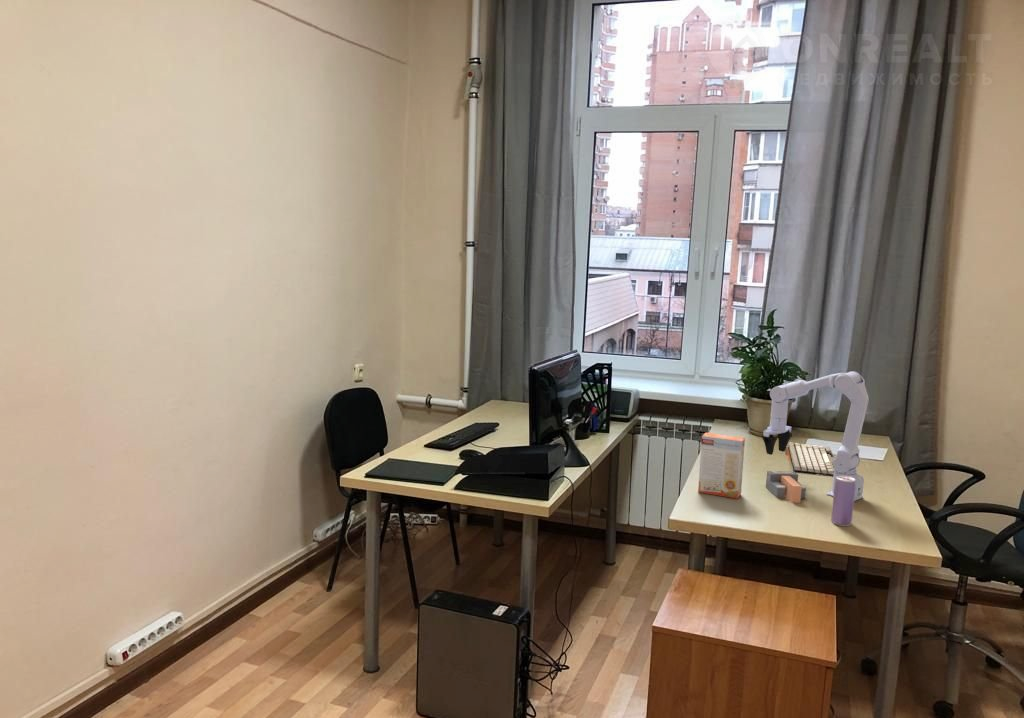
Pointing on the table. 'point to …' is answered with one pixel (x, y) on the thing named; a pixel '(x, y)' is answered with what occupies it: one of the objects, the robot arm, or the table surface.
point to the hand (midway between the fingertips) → (775, 452)
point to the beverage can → (843, 500)
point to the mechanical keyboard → (809, 459)
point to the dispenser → (775, 482)
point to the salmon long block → (791, 489)
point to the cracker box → (721, 465)
